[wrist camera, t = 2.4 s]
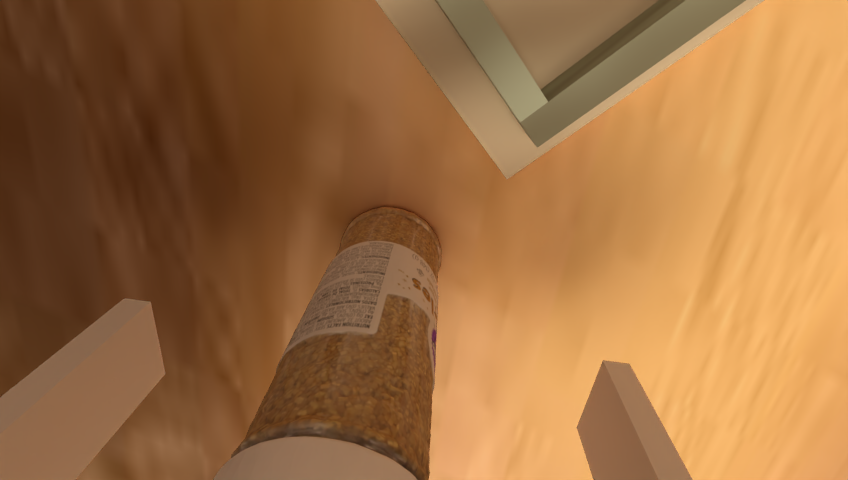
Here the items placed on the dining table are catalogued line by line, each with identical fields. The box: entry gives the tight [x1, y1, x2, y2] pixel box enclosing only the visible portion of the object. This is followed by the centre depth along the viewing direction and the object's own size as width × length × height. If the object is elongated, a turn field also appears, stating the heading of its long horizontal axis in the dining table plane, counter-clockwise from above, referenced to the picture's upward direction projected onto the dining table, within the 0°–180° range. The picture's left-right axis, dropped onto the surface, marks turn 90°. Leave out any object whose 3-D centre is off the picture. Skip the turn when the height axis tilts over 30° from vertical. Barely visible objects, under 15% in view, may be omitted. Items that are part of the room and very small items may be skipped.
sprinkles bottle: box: [213, 207, 441, 480], centre depth 13 cm, size 5×5×14 cm
